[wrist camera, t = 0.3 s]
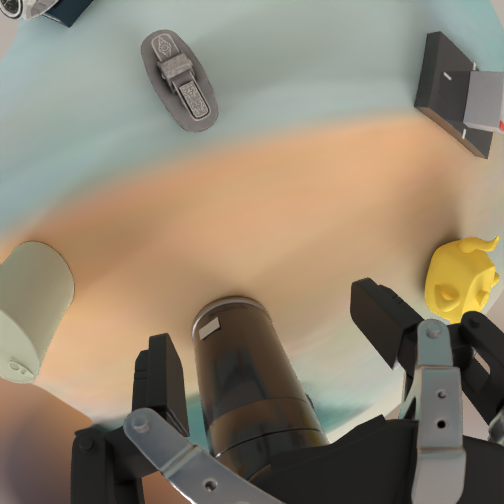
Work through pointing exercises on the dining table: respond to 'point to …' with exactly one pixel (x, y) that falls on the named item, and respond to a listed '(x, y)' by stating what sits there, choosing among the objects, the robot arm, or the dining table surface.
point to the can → (31, 307)
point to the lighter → (179, 80)
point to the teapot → (460, 278)
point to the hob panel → (449, 92)
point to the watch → (45, 9)
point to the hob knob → (485, 101)
